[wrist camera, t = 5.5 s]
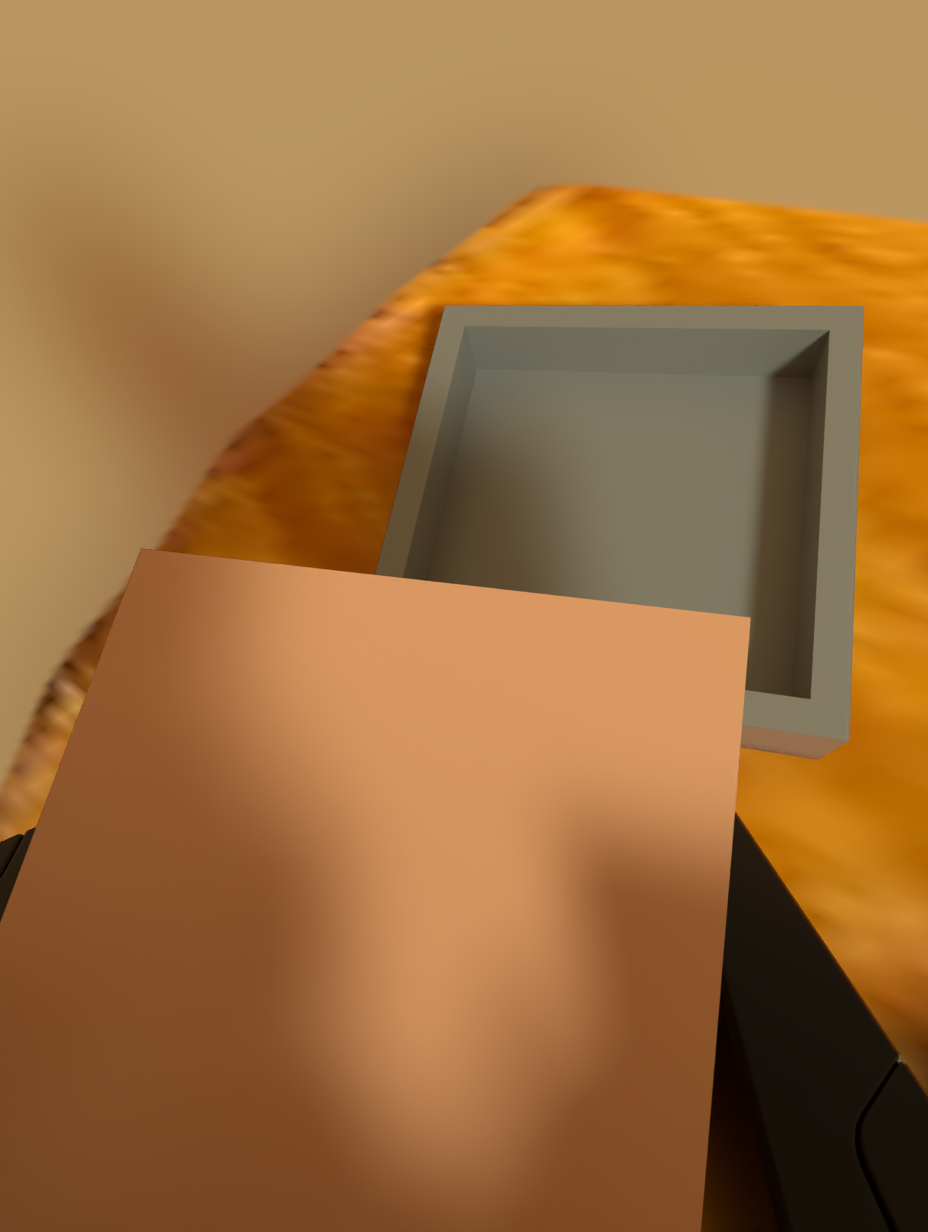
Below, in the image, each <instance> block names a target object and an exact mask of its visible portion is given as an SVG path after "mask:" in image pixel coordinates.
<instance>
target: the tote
mask: <svg viewBox="0 0 928 1232" xmlns="http://www.w3.org/2000/svg"><path fill="white" fill-rule="evenodd" d="M863 320H864V306H674V305H445V308H444V312H443V316H442V320H441V323H440V327H439V331H438V335H437V339H436V343H435V346H434V350H433V354H432V358H431V362H430V366H429V369H428V373H427V377H426V381H425V385H424V389H423V392H422V396H421V400H420V404H419V408H418V412H417V416H416V419H415V423H414V427H413V431H412V435H411V439H410V442H409V446H408V450H407V454H406V458H405V462H404V465H403V469H402V473H401V477H400V481H399V485H398V488H397V492H396V496H395V500H394V504H393V508H392V511H391V515H390V519H389V523H388V527H387V531H386V534H385V538H384V542H383V546H382V550H381V554H380V557H379V561H378V565H377V569H376V573H375V575H380V576H389V577H398V578H406V579H415V580H424V581H433V582H442V583H450V584H459V585H468V586H477V587H486V588H495V589H503V590H512V591H521V592H530V593H539V594H547V595H556V596H565V597H574V598H583V599H592V600H600V601H609V602H618V603H627V604H636V605H644V606H653V607H662V608H671V609H680V610H689V611H697V612H706V613H715V614H724V615H733V616H741V617H750V618H751V621H750V633H749V646H748V658H747V670H746V682H745V695H744V707H743V719H742V732H741V744H740V747H743V748H749V749H756V750H762V751H768V752H774V753H781V754H787V755H793V756H799V757H806V758H812V759H819V758H821V757H822V756H824V755H826V754H828V753H829V752H831V751H833V750H835V749H836V748H838V747H840V746H841V745H843V744H845V743H847V742H848V741H849V737H850V707H851V678H852V648H853V618H854V588H855V558H856V528H857V499H858V469H859V439H860V409H861V379H862V350H863Z"/></svg>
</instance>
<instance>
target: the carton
mask: <svg viewBox="0 0 928 1232" xmlns="http://www.w3.org/2000/svg"><path fill="white" fill-rule="evenodd" d="M750 621H751V618H750V617H741V616H733V615H724V614H715V613H706V612H697V611H689V610H680V609H671V608H662V607H653V606H644V605H636V604H627V603H618V602H609V601H600V600H592V599H583V598H574V597H565V596H556V595H547V594H539V593H530V592H521V591H512V590H503V589H495V588H486V587H477V586H468V585H459V584H450V583H442V582H433V581H424V580H415V579H406V578H398V577H389V576H380V575H371V574H362V573H353V572H345V571H336V570H327V569H318V568H309V567H301V566H292V565H283V564H274V563H265V562H256V561H248V560H239V559H230V558H221V557H212V556H204V555H195V554H186V553H177V552H168V551H159V550H151V549H142V548H141V550H140V553H139V555H138V558H137V561H136V563H135V566H134V569H133V571H132V574H131V577H130V579H129V582H128V585H127V587H126V590H125V593H124V595H123V598H122V601H121V603H120V606H119V608H118V611H117V614H116V616H115V619H114V622H113V624H112V627H111V630H110V632H109V635H108V638H107V640H106V643H105V646H104V648H103V651H102V654H101V656H100V659H99V662H98V664H97V667H96V670H95V672H94V675H93V678H92V680H91V683H90V686H89V688H88V691H87V694H86V696H85V699H84V702H83V704H82V707H81V709H80V712H79V715H78V717H77V720H76V723H75V725H74V728H73V731H72V733H71V736H70V739H69V741H68V744H67V747H66V749H65V752H64V755H63V757H62V760H61V763H60V765H59V768H58V771H57V773H56V776H55V779H54V781H53V784H52V787H51V789H50V792H49V795H48V797H47V800H46V802H45V805H44V808H43V810H42V813H41V816H40V818H39V821H38V824H37V826H36V829H35V832H34V834H33V837H32V840H31V842H30V845H29V848H28V850H27V853H26V856H25V858H24V861H23V864H22V866H21V869H20V872H19V874H18V877H17V880H16V882H15V885H14V888H13V890H12V893H11V896H10V898H9V901H8V903H7V906H6V909H5V911H4V914H3V917H2V919H1V922H0V1232H701V1223H702V1211H703V1199H704V1186H705V1174H706V1162H707V1150H708V1137H709V1125H710V1113H711V1100H712V1088H713V1076H714V1063H715V1051H716V1039H717V1027H718V1014H719V1002H720V990H721V977H722V965H723V953H724V941H725V928H726V916H727V904H728V891H729V879H730V867H731V854H732V842H733V830H734V818H735V805H736V793H737V781H738V768H739V756H740V744H741V732H742V719H743V707H744V695H745V682H746V670H747V658H748V646H749V633H750Z"/></svg>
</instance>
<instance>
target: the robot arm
mask: <svg viewBox="0 0 928 1232" xmlns="http://www.w3.org/2000/svg"><path fill="white" fill-rule="evenodd" d="M35 829H36V827H35V828H32V829H30V830H28V831H27V832H26V833H25V835H22V834H18V835H16V836H13V837H11V838H9V839H7V840H4V841H2V842H0V922H1V919H2V917H3V914H4V911H5V909H6V906H7V903H8V901H9V898H10V896H11V893H12V890H13V888H14V885H15V882H16V880H17V877H18V874H19V872H20V869H21V866H22V864H23V861H24V858H25V856H26V853H27V850H28V848H29V845H30V842H31V840H32V837H33V834H34V832H35ZM900 1060H901V1055H900V1053H899V1052H898V1050H897V1049H896V1047H895V1046H894V1044H893V1043H892V1041H891V1040H890V1038H889V1037H888V1035H887V1034H886V1032H885V1031H884V1029H883V1028H882V1027H881V1025H880V1024H879V1022H878V1021H877V1019H876V1018H875V1016H874V1015H873V1013H872V1012H871V1010H870V1009H869V1007H868V1006H867V1004H866V1003H865V1001H864V1000H863V999H862V997H861V996H860V994H859V993H858V991H857V990H856V988H855V987H854V985H853V984H852V982H851V981H850V979H849V978H848V976H847V975H846V974H845V972H844V971H843V969H842V968H841V966H840V965H839V963H838V962H837V960H836V959H835V957H834V956H833V954H832V953H831V951H830V950H829V948H828V947H827V946H826V944H825V943H824V941H823V940H822V938H821V937H820V935H819V934H818V932H817V931H816V929H815V928H814V926H813V925H812V923H811V922H810V920H809V919H808V918H807V916H806V915H805V913H804V912H803V910H802V909H801V907H800V906H799V904H798V903H797V901H796V900H795V898H794V897H793V895H792V894H791V893H790V891H789V890H788V888H787V887H786V885H785V884H784V882H783V881H782V879H781V878H780V876H779V875H778V873H777V872H776V870H775V869H774V867H773V866H772V865H771V863H770V862H769V860H768V859H767V857H766V856H765V854H764V853H763V851H762V850H761V848H760V847H759V845H758V844H757V842H756V841H755V839H754V838H753V837H752V835H751V834H750V832H749V831H748V829H747V828H746V826H745V825H744V823H743V822H742V820H741V819H740V817H739V816H738V814H737V813H736V812H735V818H734V830H733V842H732V854H731V867H730V879H729V891H728V904H727V916H726V928H725V941H724V953H723V965H722V977H721V990H720V1002H719V1014H718V1027H717V1039H716V1051H715V1063H714V1076H713V1088H712V1100H711V1113H710V1125H709V1137H708V1150H707V1162H706V1174H705V1186H704V1199H703V1211H702V1223H701V1232H928V1094H927V1092H926V1091H925V1089H924V1088H923V1086H922V1085H921V1083H920V1082H919V1081H918V1079H917V1078H916V1076H915V1075H914V1073H913V1072H912V1070H911V1069H910V1067H909V1066H908V1065H907V1064H906V1063H904V1062H900Z"/></svg>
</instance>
